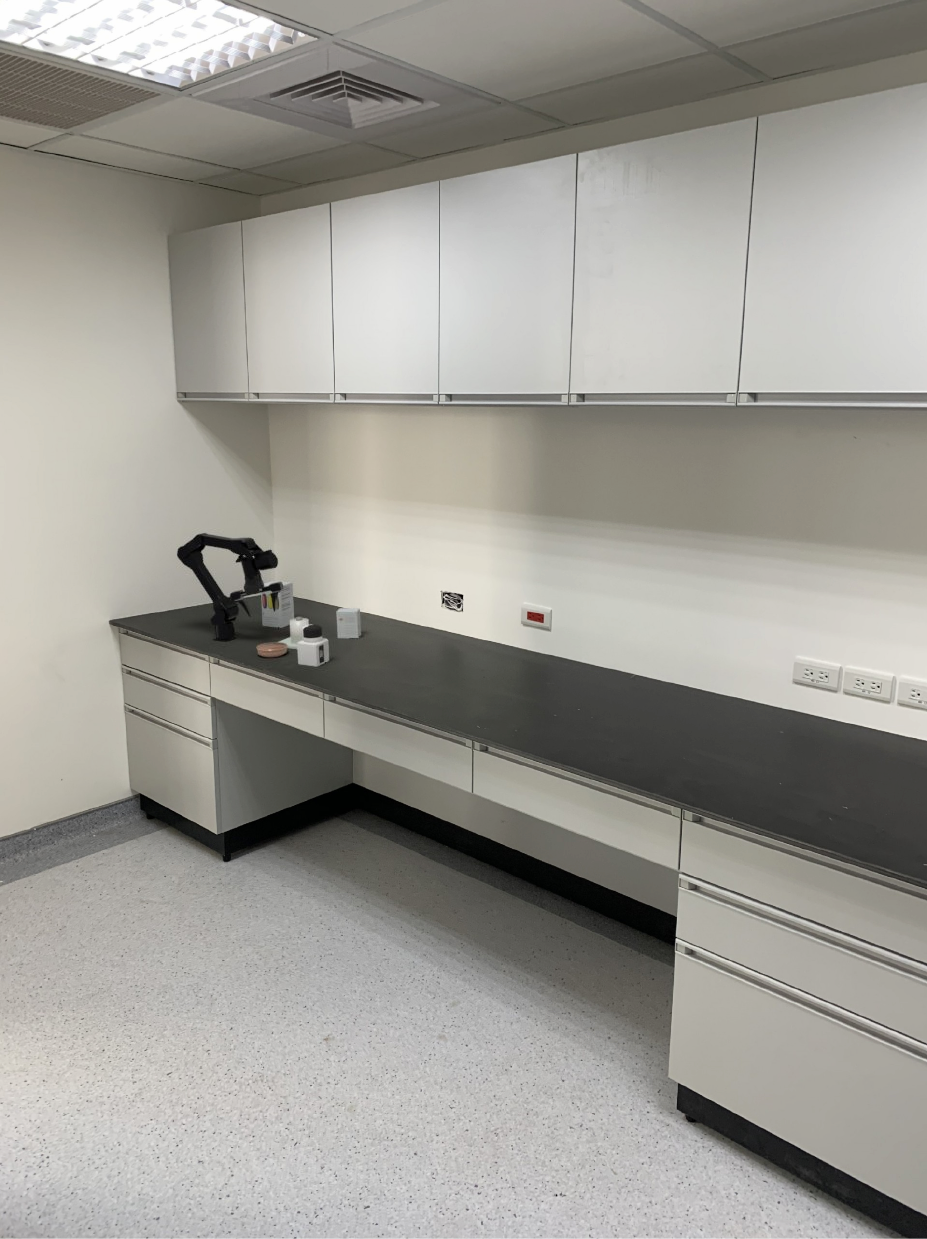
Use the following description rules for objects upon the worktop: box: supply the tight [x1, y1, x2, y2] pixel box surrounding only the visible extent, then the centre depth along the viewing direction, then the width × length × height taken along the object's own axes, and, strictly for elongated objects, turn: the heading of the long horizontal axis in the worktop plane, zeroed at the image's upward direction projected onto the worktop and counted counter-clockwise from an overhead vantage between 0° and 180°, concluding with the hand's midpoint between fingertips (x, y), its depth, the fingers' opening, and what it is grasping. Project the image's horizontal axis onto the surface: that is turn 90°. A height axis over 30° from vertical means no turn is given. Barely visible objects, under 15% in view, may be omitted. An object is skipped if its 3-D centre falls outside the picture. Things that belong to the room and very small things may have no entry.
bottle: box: [289, 616, 310, 644], centre depth 323 cm, size 7×7×9 cm
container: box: [296, 623, 330, 668], centre depth 298 cm, size 8×8×13 cm
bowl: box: [256, 641, 288, 658], centre depth 310 cm, size 11×11×3 cm
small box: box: [335, 607, 362, 639], centre depth 331 cm, size 8×6×10 cm
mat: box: [278, 636, 327, 650], centre depth 324 cm, size 14×14×1 cm
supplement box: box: [260, 580, 295, 629], centre depth 350 cm, size 10×9×17 cm
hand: (262, 614), depth 322 cm, fingers open, 9 cm apart
